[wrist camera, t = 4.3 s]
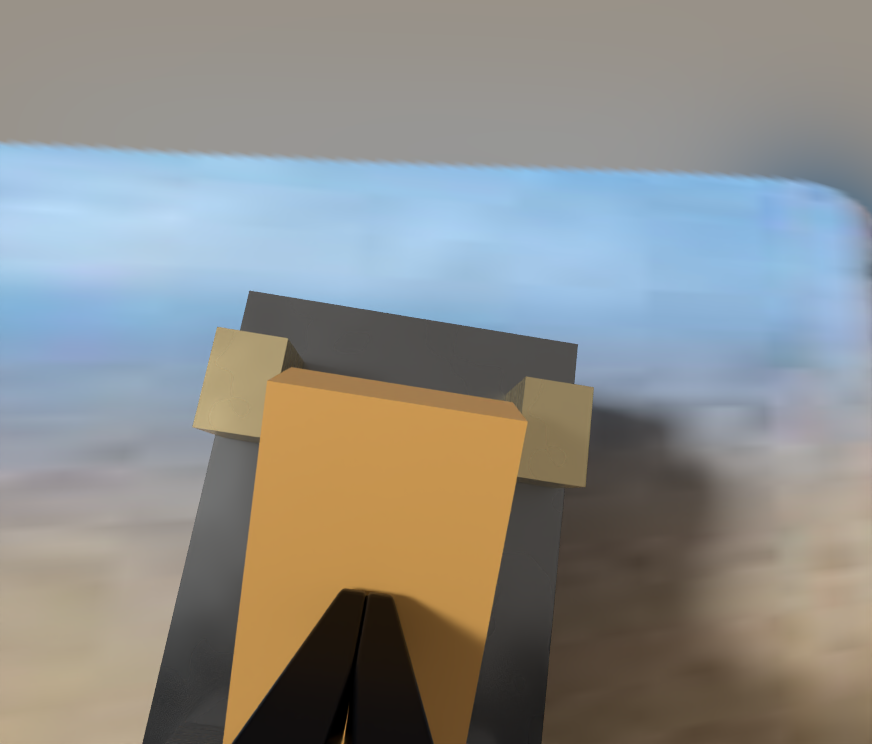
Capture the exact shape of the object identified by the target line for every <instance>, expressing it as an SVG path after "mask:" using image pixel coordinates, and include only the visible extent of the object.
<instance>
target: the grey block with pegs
mask: <svg viewBox="0 0 872 744" xmlns="http://www.w3.org/2000/svg"><path fill="white" fill-rule="evenodd" d="M577 348H578V344H572V343H566V342H560V341H554V340H548V339H542V338H536V337H530V336H523V335H517V334H511V333H505V332H499V331H493V330H487V329H481V328H474V327H468V326H462V325H456V324H450V323H444V322H438V321H432V320H426V319H419V318H413V317H407V316H401V315H395V314H389V313H383V312H377V311H370V310H364V309H358V308H352V307H346V306H340V305H334V304H328V303H322V302H315V301H309V300H303V299H297V298H291V297H285V296H279V295H273V294H267V293H260V292H254V291H249V295H248V299H247V303H246V308H245V312H244V316H243V320H242V325H241V329H240V331H239V330H233V329H227V328H221V327H217V330H216V334H215V338H214V342H213V346H212V350H211V354H210V358H209V362H208V366H207V370H206V375H205V379H204V383H203V387H202V391H201V395H200V399H199V403H198V407H197V411H196V415H195V419H194V423H193V427H194V428H197V429H200V430H203V431H206V432H209V433H211V434H214V435H215V439H214V443H213V447H212V451H211V456H210V460H209V464H208V468H207V473H206V477H205V481H204V485H203V490H202V494H201V498H200V502H199V506H198V511H197V515H196V519H195V523H194V528H193V532H192V536H191V540H190V545H189V549H188V553H187V557H186V561H185V566H184V570H183V574H182V578H181V583H180V587H179V591H178V595H177V600H176V604H175V608H174V612H173V616H172V621H171V625H170V629H169V633H168V638H167V642H166V646H165V650H164V655H163V659H162V663H161V667H160V671H159V676H158V680H157V684H156V688H155V693H154V697H153V701H152V705H151V710H150V714H149V718H148V722H147V726H146V731H145V735H144V739H143V743H142V744H223V737H224V729H225V721H226V713H227V705H228V697H229V688H230V680H231V672H232V664H233V656H234V648H235V639H236V631H237V623H238V615H239V607H240V599H241V590H242V582H243V574H244V566H245V558H246V550H247V541H248V533H249V525H250V517H251V509H252V501H253V492H254V484H255V476H256V468H257V460H258V451H259V443H260V435H261V427H262V419H263V411H264V402H265V394H266V386H267V381H268V380H269V379H271V378H273V377H275V376H276V375H278V374H280V373H282V372H283V371H285V370H287V369H289V368H291V367H293V368H300V369H306V370H312V371H319V372H325V373H331V374H338V375H344V376H350V377H356V378H363V379H369V380H375V381H382V382H388V383H394V384H401V385H407V386H413V387H420V388H426V389H432V390H439V391H445V392H451V393H458V394H464V395H470V396H476V397H483V398H489V399H495V400H502V401H508V402H513V403H514V405H515V406H516V407H517V409H518V410H519V411H520V412H521V414H522V415H523V416H524V418H525V419H526V420H527V421H528V423H527V428H526V433H525V438H524V444H523V449H522V454H521V459H520V464H519V470H518V475H517V480H516V485H515V491H514V496H513V501H512V506H511V511H510V517H509V522H508V527H507V532H506V537H505V543H504V548H503V553H502V558H501V564H500V569H499V574H498V579H497V584H496V590H495V595H494V600H493V605H492V610H491V616H490V621H489V626H488V631H487V637H486V642H485V647H484V652H483V657H482V663H481V668H480V673H479V678H478V683H477V689H476V694H475V699H474V704H473V710H472V715H471V720H470V725H469V730H468V736H467V741H466V744H541V741H542V730H543V719H544V708H545V697H546V686H547V676H548V665H549V654H550V643H551V632H552V621H553V610H554V599H555V588H556V577H557V566H558V555H559V545H560V534H561V523H562V512H563V501H564V490H565V488H577V487H585V486H586V474H587V462H588V450H589V438H590V426H591V414H592V402H593V390H594V387H588V386H582V385H576V384H574V381H575V370H576V359H577Z"/></svg>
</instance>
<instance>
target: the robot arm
mask: <svg viewBox="0 0 872 744" xmlns="http://www.w3.org/2000/svg"><path fill="white" fill-rule="evenodd" d="M366 598H367V599H366ZM347 715H348V716H347ZM346 721H347V723H346ZM345 726H346V730H345ZM344 731H345V737H344V744H434V742H433V739H432V735H431V731H430V728H429V724H428V720H427V717H426V713H425V710H424V706H423V702H422V699H421V695H420V691H419V688H418V684H417V680H416V677H415V673H414V669H413V666H412V662H411V658H410V655H409V651H408V647H407V644H406V640H405V637H404V633H403V629H402V626H401V622H400V618H399V615H398V611H397V607H396V604H395V600H394V598H393V596H391V595H390V594H383V593H376V592H370V593H369V594H368V595H367V594H366V592H365V591H362V590H355V589H348V588H344V589H342V590H341V591H340V592H339V593H338V594H337V596H336V597H335V598H334V600H333V601H332V603H331V604H330V605H329V607H328V608H327V610H326V611H325V613H324V614H323V615H322V617H321V618H320V620H319V621H318V622H317V624H316V625H315V627H314V628H313V629H312V631H311V632H310V634H309V635H308V636H307V638H306V639H305V641H304V642H303V643H302V645H301V646H300V648H299V649H298V650H297V652H296V653H295V655H294V656H293V658H292V659H291V660H290V662H289V663H288V665H287V666H286V667H285V669H284V670H283V672H282V673H281V674H280V676H279V677H278V679H277V680H276V681H275V683H274V684H273V686H272V687H271V688H270V690H269V691H268V693H267V694H266V696H265V697H264V698H263V700H262V701H261V703H260V704H259V705H258V707H257V708H256V710H255V711H254V712H253V714H252V715H251V717H250V718H249V719H248V721H247V722H246V724H245V725H244V726H243V728H242V729H241V731H240V732H239V733H238V735H237V736H236V738H235V739H234V741H233V742H232V743H231V744H342V740H343V736H344Z"/></svg>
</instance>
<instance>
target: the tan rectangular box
mask: <svg viewBox="0 0 872 744" xmlns="http://www.w3.org/2000/svg"><path fill="white" fill-rule="evenodd" d="M527 423H528V421H527V420H526V419H525V418H524V416H523V415H522V414H521V412H520V411H519V410H518V409H517V407H516V406H515V405H514V403H513V402H508V401H502V400H495V399H489V398H483V397H476V396H470V395H464V394H458V393H451V392H445V391H439V390H432V389H426V388H420V387H413V386H407V385H401V384H394V383H388V382H382V381H375V380H369V379H363V378H356V377H350V376H344V375H338V374H331V373H325V372H319V371H312V370H306V369H300V368H293V367H291V368H289V369H287V370H285V371H283V372H282V373H280V374H278V375H276V376H275V377H273V378H271V379H269V380H268V381H267V386H266V394H265V402H264V411H263V419H262V427H261V435H260V443H259V451H258V460H257V468H256V476H255V484H254V492H253V501H252V509H251V517H250V525H249V533H248V541H247V550H246V558H245V566H244V574H243V582H242V590H241V599H240V607H239V615H238V623H237V631H236V639H235V648H234V656H233V664H232V672H231V680H230V688H229V697H228V705H227V713H226V721H225V729H224V737H223V744H231V743H232V742H233V741H234V739H235V738H236V736H237V735H238V733H239V732H240V731H241V729H242V728H243V726H244V725H245V724H246V722H247V721H248V719H249V718H250V717H251V715H252V714H253V712H254V711H255V710H256V708H257V707H258V705H259V704H260V703H261V701H262V700H263V698H264V697H265V696H266V694H267V693H268V691H269V690H270V688H271V687H272V686H273V684H274V683H275V681H276V680H277V679H278V677H279V676H280V674H281V673H282V672H283V670H284V669H285V667H286V666H287V665H288V663H289V662H290V660H291V659H292V658H293V656H294V655H295V653H296V652H297V650H298V649H299V648H300V646H301V645H302V643H303V642H304V641H305V639H306V638H307V636H308V635H309V634H310V632H311V631H312V629H313V628H314V627H315V625H316V624H317V622H318V621H319V620H320V618H321V617H322V615H323V614H324V613H325V611H326V610H327V608H328V607H329V605H330V604H331V603H332V601H333V600H334V598H335V597H336V596H337V594H338V593H339V592H340V591H341V590H342V589H344V588H348V589H355V590H362V591H365V592H366V594H367V595H368V594H369V593H370V592H376V593H383V594H390V595H391V596H393V598H394V600H395V604H396V607H397V611H398V615H399V618H400V622H401V626H402V629H403V633H404V637H405V640H406V644H407V647H408V651H409V655H410V658H411V662H412V666H413V669H414V673H415V677H416V680H417V684H418V688H419V691H420V695H421V699H422V702H423V706H424V710H425V713H426V717H427V720H428V724H429V728H430V731H431V735H432V739H433V742H434V744H466V741H467V736H468V730H469V725H470V720H471V715H472V710H473V704H474V699H475V694H476V689H477V683H478V678H479V673H480V668H481V663H482V657H483V652H484V647H485V642H486V637H487V631H488V626H489V621H490V616H491V610H492V605H493V600H494V595H495V590H496V584H497V579H498V574H499V569H500V564H501V558H502V553H503V548H504V543H505V537H506V532H507V527H508V522H509V517H510V511H511V506H512V501H513V496H514V491H515V485H516V480H517V475H518V470H519V464H520V459H521V454H522V449H523V444H524V438H525V433H526V428H527ZM366 599H367V598H366ZM347 716H348V715H347ZM346 723H347V721H346ZM345 730H346V726H345ZM344 737H345V731H344V736H343V740H342V744H344Z"/></svg>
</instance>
